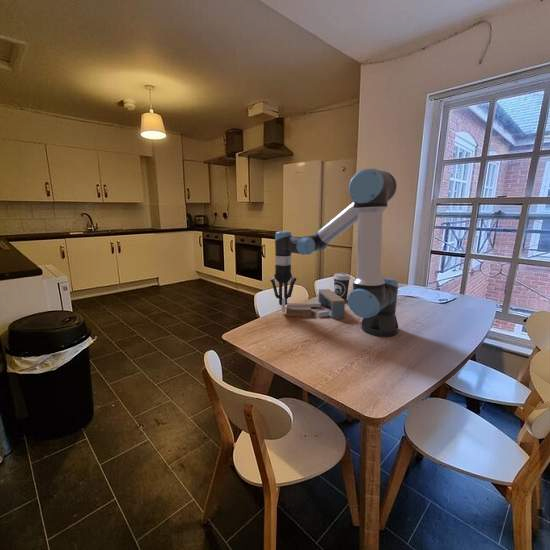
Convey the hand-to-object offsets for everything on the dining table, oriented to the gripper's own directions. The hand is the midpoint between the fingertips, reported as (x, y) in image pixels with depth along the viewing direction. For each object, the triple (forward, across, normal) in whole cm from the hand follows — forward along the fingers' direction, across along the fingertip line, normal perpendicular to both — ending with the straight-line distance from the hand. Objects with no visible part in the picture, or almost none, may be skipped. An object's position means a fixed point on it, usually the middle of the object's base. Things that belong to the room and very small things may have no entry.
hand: (283, 311), depth 144 cm
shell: (+2, -8, 0) cm, 8 cm away
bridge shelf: (+2, -21, 0) cm, 21 cm away
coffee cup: (+2, -37, -16) cm, 41 cm away
